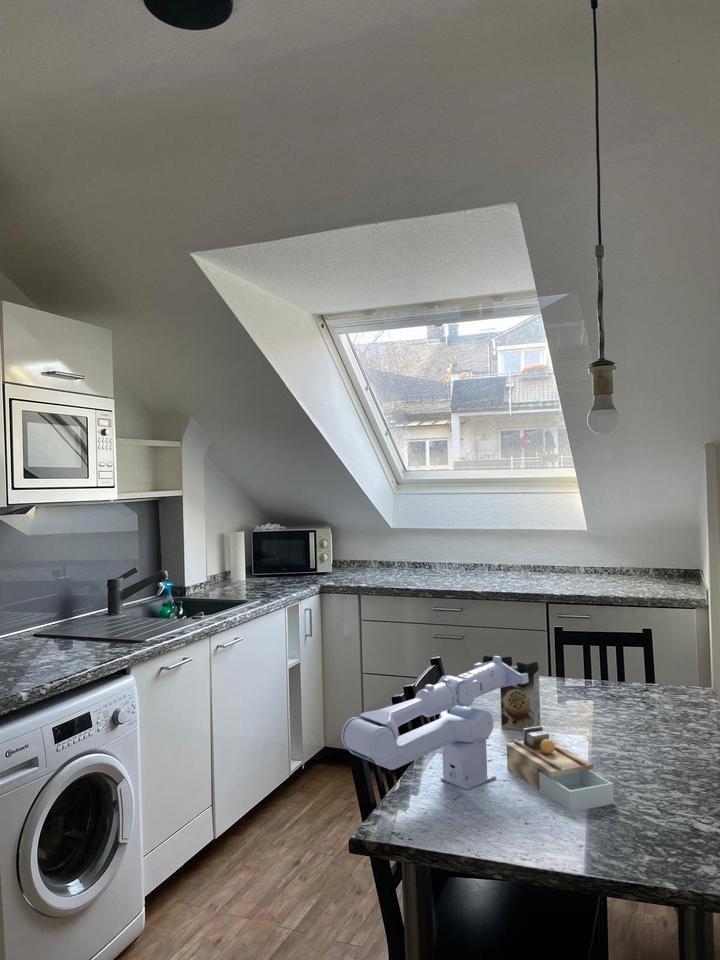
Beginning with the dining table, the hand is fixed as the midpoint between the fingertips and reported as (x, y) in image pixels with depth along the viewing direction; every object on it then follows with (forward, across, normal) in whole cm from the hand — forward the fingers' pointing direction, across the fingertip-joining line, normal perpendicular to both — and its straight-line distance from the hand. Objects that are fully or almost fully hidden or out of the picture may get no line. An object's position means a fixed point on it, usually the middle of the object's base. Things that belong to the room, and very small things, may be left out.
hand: (523, 663), depth 175 cm
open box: (-13, -21, +21) cm, 32 cm away
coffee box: (+13, +14, +23) cm, 30 cm away
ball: (-9, -12, +14) cm, 20 cm away
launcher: (-9, -11, +21) cm, 25 cm away
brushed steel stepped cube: (-7, -8, +15) cm, 19 cm away
